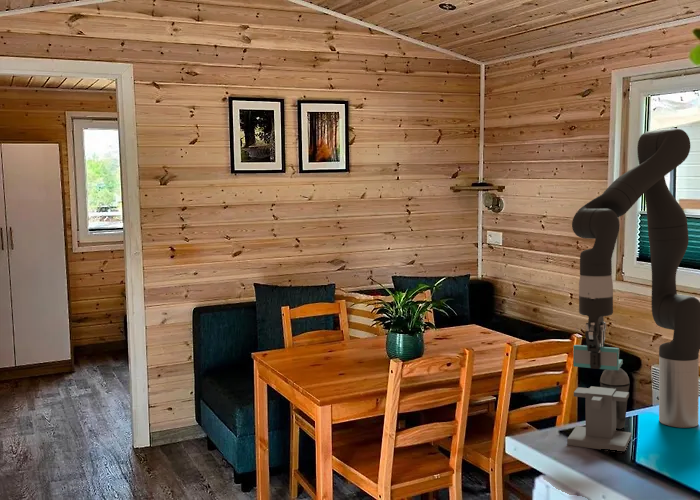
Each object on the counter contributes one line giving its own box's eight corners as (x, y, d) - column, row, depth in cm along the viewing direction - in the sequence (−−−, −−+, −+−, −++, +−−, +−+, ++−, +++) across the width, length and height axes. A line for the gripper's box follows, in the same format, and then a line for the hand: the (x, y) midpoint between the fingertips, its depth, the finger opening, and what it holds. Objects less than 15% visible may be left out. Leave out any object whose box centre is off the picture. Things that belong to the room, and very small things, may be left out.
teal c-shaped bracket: (580, 360, 175) (579, 340, 175) (623, 363, 170) (622, 343, 170) (573, 366, 169) (573, 345, 169) (617, 370, 164) (617, 349, 164)
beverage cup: (593, 424, 184) (593, 348, 183) (617, 421, 186) (616, 345, 185) (612, 433, 177) (612, 354, 176) (636, 429, 179) (636, 351, 178)
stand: (576, 431, 179) (576, 384, 178) (631, 438, 173) (631, 390, 172) (567, 444, 170) (566, 395, 169) (624, 452, 164) (624, 401, 163)
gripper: (585, 290, 173) (585, 360, 175) (572, 297, 162) (573, 372, 163) (617, 291, 170) (617, 362, 171) (607, 298, 158) (607, 375, 159)
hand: (596, 367), depth 167 cm, fingers closed on teal c-shaped bracket, 1 cm apart
